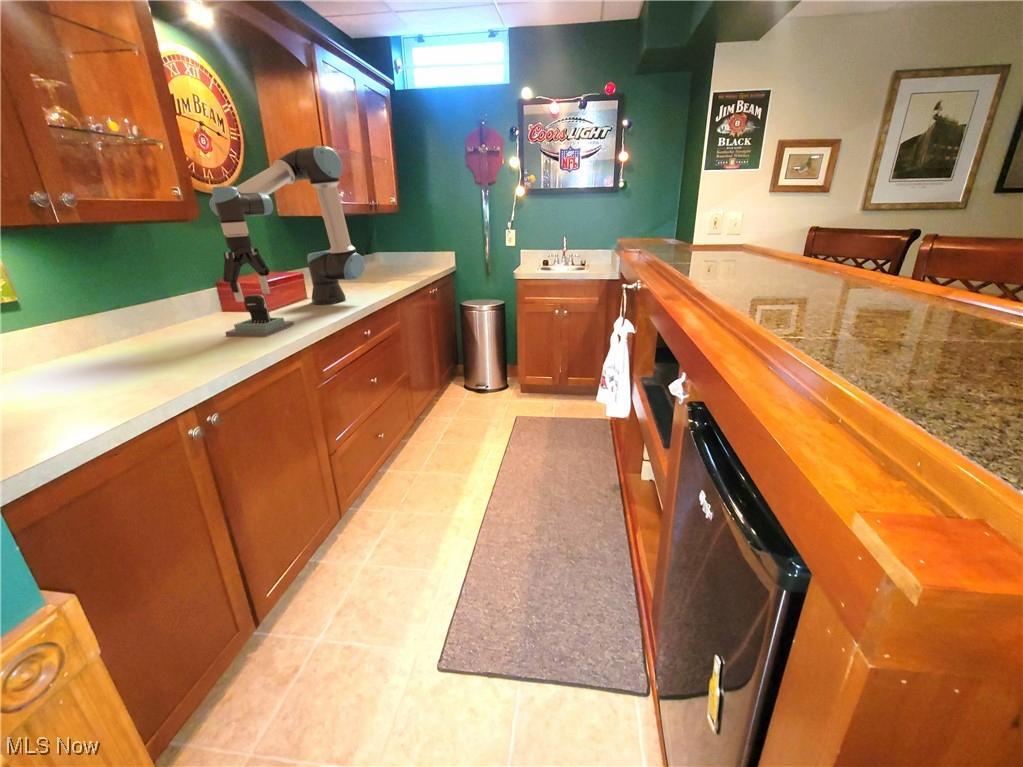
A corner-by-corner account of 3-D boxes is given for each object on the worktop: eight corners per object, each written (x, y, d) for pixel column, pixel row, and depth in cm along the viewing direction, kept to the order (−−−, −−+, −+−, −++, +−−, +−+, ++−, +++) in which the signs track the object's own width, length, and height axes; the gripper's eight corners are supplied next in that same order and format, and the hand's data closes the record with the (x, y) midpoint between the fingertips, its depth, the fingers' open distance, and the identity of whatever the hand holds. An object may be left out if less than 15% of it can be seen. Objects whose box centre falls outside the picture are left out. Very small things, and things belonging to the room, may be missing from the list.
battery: (249, 327, 160) (240, 296, 156) (256, 324, 164) (247, 294, 159) (266, 327, 159) (257, 296, 155) (272, 324, 163) (265, 294, 158)
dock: (257, 324, 170) (254, 315, 169) (294, 324, 168) (292, 315, 166) (226, 336, 156) (223, 326, 154) (266, 336, 153) (264, 326, 152)
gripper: (252, 233, 161) (267, 290, 169) (198, 239, 138) (218, 305, 147) (270, 232, 160) (284, 290, 168) (218, 238, 137) (238, 305, 146)
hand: (253, 297), depth 157 cm, fingers open, 13 cm apart
